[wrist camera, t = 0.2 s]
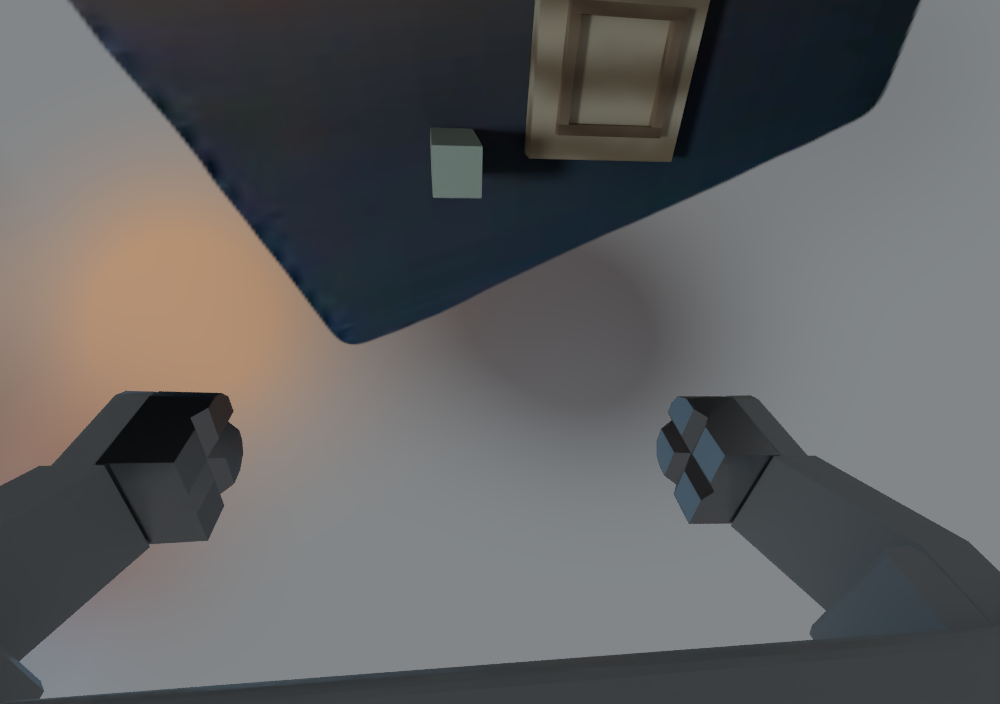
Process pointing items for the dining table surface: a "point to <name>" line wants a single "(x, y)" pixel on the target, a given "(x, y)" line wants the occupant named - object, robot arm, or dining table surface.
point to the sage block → (456, 163)
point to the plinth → (610, 77)
